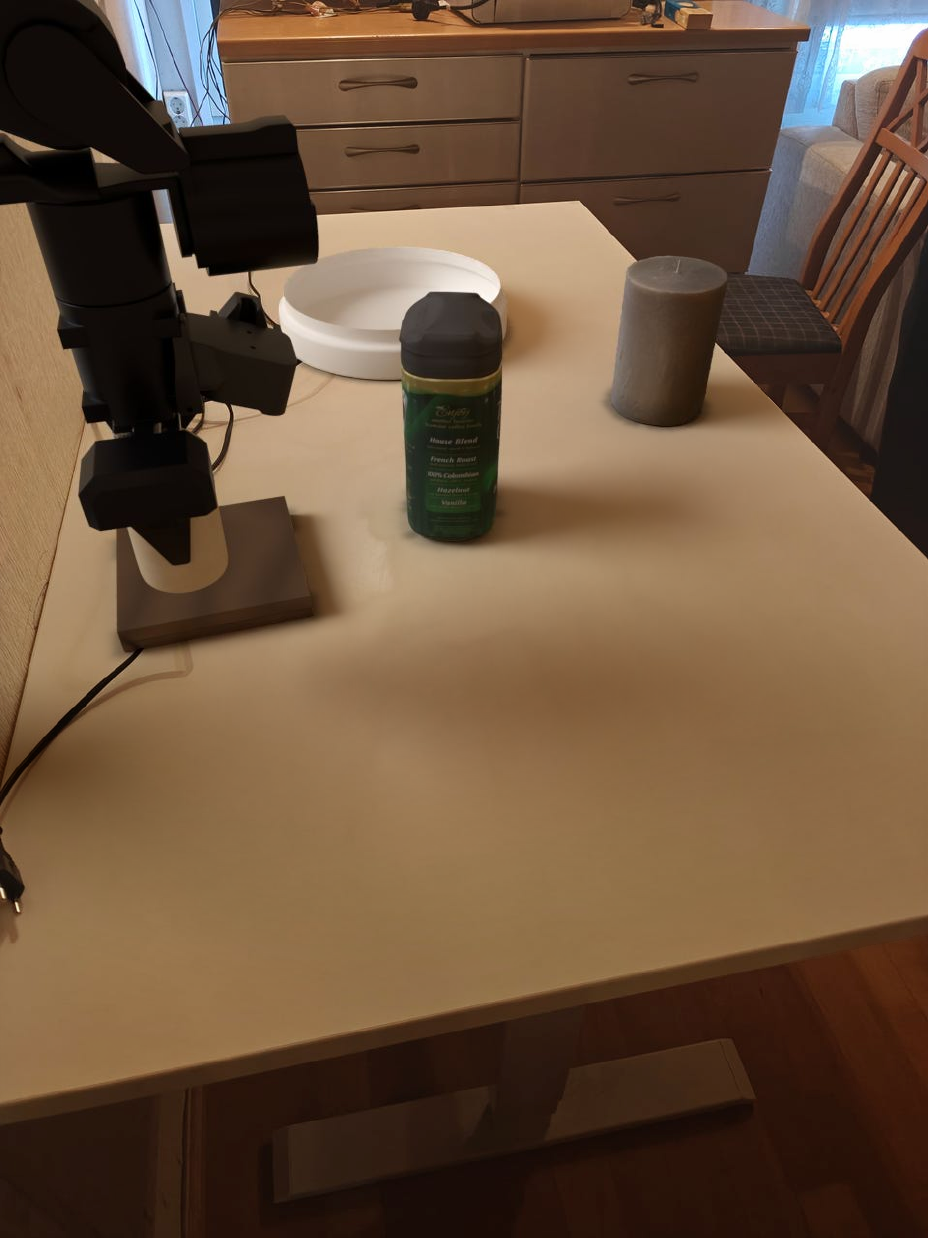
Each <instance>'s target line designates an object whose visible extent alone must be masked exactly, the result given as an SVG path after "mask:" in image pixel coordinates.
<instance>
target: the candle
mask: <svg viewBox="0 0 928 1238" xmlns="http://www.w3.org/2000/svg"><path fill="white" fill-rule="evenodd" d="M181 430H186V431H188V432H190V433H191V434H193V435H195V436H196V437H198V438H200V439H201V440H203V441H204V439H203V438H201V436H199V435H198V434H196V433H194V432H193V431H191V430H188V429H187V428H186V429H184V428H181ZM159 433H161V423H159ZM217 496H218V495H216V498H217V499H218V497H217ZM219 506H220V505H219V501H218V500H217V507H218V508H217V509H215V510H214V511H213V512H211V513H210V514H208V515H207V516H201V517H194V518H191V562H190V563H188V564H184V565H178V566H173V565H171V564H170V563H169V562H168V561H167V560H166V559H165V558H164V557H163V556H162V555H160V554H159V553H158V552H157V551H156V550H155V549H154V548H153V547H152V546H151V545H150V544H149V543H148V542H147V541H145V540H144V539H143V538H142V537H141V536H140V535H139V534H138V533H137V532H136V531H135V530H133V529H132V528H131V527H127V529H128V532H129V535H130V539H131V542H132V546H133V549H134V552H135V556H136V559H137V562H138V566H139V569H140V572H141V574H142V576H143V578H144V580H145V581H146V582H147V583H148V584H149V585H150V586H151V587H153V588H155V589H157V590H160V591H163V592H169V593H186V592H192V591H196V590H199V589H202V588H205V587H207V586H209V585H211V584H212V583H214V582H215V581H216V580H218V579H219V578H220V577H221V576H222V575H223V573H224V572H225V570H226V568H227V565H228V553H227V547H226V541H225V536H224V531H223V526H222V521H221V516H220V511H219Z"/></svg>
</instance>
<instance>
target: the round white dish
mask: <svg viewBox="0 0 928 1238" xmlns="http://www.w3.org/2000/svg"><path fill="white" fill-rule="evenodd" d="M282 290H283V292H282V293H283V296H282V297H281V299H280V300H279V304H278V318H279V326H281V330H282V332H283V333H285V334H286V335H288V336H289V337H290V339H291V342H292V345H293V348H294V352H295V355H296V358H297V360H299V361H300V362H302V363H304V364H306V365H308V366H310V367H312V368H314V369H317V370H321V371H322V372H326V373H329V374H333V375H337V376H342V377H348V378H353V379H362V380H363V379H364V380H373V381H374V380H375V381H400V380H401V381H402V374H401V342H400V341H399V337H400V332H401V326H402V321H403V320H404V317H405V314H406V312H407V310H408V309H409V308H410V307H411V306H412V305H413V304H414V303H416V302H417V301H418V300H420V299H421V298H423V297H425V296H426V295H427V294H428V293H429V292H470V293H478V294H479V295H480V297H481V298H483V299H484V300H486V301H487V302H488V303H490V304H491V305H492V306H493V307H494V308H495V309H496V310H497V311H498V313H499V315H500V320H501V325H502V337H503V341H504V339H505V336H506V335H507V334H506V333H507V326H508V325H507V324H508V323H507V321H508V301H507V296H506V295H505V294H506V293H504V291H503V290H502V288H501V280H500V278H499V276H498V275H497V273H495V271H494V270H493V269H492V268H491V267H489V266H488V265H486V264H485V263H483V262H481V261H479V260H477V259H475V258H472V257H469V256H467V255H463V254H460V253H457V252H452V251H448V250H443V249H436V248H429V247H420V246H419V247H417V246H379V247H368V248H359V249H354V250H348V251H343V252H338V253H335V254H331V255H327V256H323V257H322V258H318V261H317V263H316V264H311V265H303V266H300V267H299V268H298V269H296V271H294V272H293V273H292V274H291V275H290V276H289V277H288V278H287V280H286V281H285V283H284V285H283V289H282Z"/></svg>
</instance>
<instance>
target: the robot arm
mask: <svg viewBox="0 0 928 1238" xmlns="http://www.w3.org/2000/svg"><path fill="white" fill-rule="evenodd" d="M0 131H1V132H0V206H9V205H19V204H25V205H26V208H27V212H28V215H29V218H30V222H31V225H32V228H33V231H34V234H35V237H36V240H37V244H38V247H39V250H40V253H41V256H42V259H43V263H44V266H45V269H46V272H47V276H48V279H49V282H50V285H51V288H52V292H53V295H54V298H55V302H56V306H57V308H58V312H59V315H58V322H57V327H56V331H57V336H58V338H59V342H60V344H61V348H62V350H71V353H72V356H73V359H74V362H75V366H76V369H77V373H78V375H79V379H80V382H81V385H82V388H83V389H82V396H81V397H82V398H81V406H80V407H81V410H82V413H83V416H84V419H85V423H86V424H87V425H89V424H96V423H104V422H105V423H106V425H107V427H109V429H110V430H111V433H112V436H113V438H109V439H102V440H95V441H94V442H93V444H92V445H91V446H90V448H89V449H88V451H87V452H86V453H85V454H84V456H82V458H81V459H80V469H79V481H78V492H77V497H78V499H79V502H80V506H81V508H82V511H83V514H84V517H85V519H86V522H87V526H88V528H91V529H93V530H96V531H98V532H106V531H115V530H116V529H121V528H127V527H131V528H132V529H133V530H135V531H136V532H137V533H138V534H139V535H140V536H141V537H142V538H143V539H144V540H145V541H147V542H148V543H149V544H150V545H151V546H152V547H153V548H154V549H155V550H156V551H157V552H158V553H159V554H160V555H162V556H163V557H164V558H165V559H166V560H167V561H168V562H169V563H170V564H171V565H173V566H178V565H184V564H188V563H190V562H191V518H194V517H201V516H207V515H208V514H210V513H211V512H213V511H214V510H215V509H217V508H218V507H217V501H218V497H217V498H216V496H217V492H216V482H215V477H214V470H213V466H212V460H211V456H210V451H209V448H208V443H207V442H206V441H204V439H203V440H201V439H200V438H201V437H200V438H198V437H196V436H195V435H193V434H191V433H190V432H188V431H189V430H188V431H186V430H187V428H188V427H189V426H190V424H191V423H192V422H193V420H194V419H195V417H196V416H197V415H202V414H205V407H204V405H205V399H206V400H209V401H211V402H214V403H219V404H224V405H229V406H235V407H240V408H244V409H250V410H256V411H259V412H260V413H261V414H262V415H264V416H269V417H281V416H282V415H283V416H284V415H285V414H286V411H287V408H288V407H287V406H288V403H289V398H290V394H291V390H292V386H293V382H294V377H295V373H296V370H297V367H298V366H297V365H298V358H297V357H296V355H295V352H294V348H293V345H292V342H291V339H290V337H289V336H288V335H286V334H285V333H283V332H282V330H281V325H278V324H273V327H269V326H268V322H267V317H266V314H265V311H264V308H263V304H262V300H261V298H260V297H259V296H256V295H252V294H249V293H244V292H240V291H234V293H233V294H232V295H231V296H230V297H229V298H228V300H227V301H226V302H225V303H224V304H223V305H222V307H221V308H220V309H219V310H218V311H217V310H213V309H209V315H207V314H206V315H205V314H199V313H194V312H189V311H188V310H187V306H186V300H185V297H184V296H185V295H184V292H183V289H177V285H176V282H175V281H174V282H173V278H172V274H171V273H172V272H171V270H170V265H169V260H168V255H167V251H166V247H165V242H164V237H163V233H162V229H161V224H160V220H159V219H160V218H159V215H158V210H157V206H156V201H155V197H154V191H165V192H166V196H167V200H168V206H169V211H170V215H171V219H172V224H173V229H174V233H175V237H176V241H177V245H178V250H179V253H180V257H181V258H182V259H186V258H187V259H188V258H193V256H194V258H195V262H196V266H197V269H198V270H200V269H205V272H206V275H207V276H208V277H210V278H211V277H217V276H218V277H219V276H225V275H235V274H244V273H253V272H260V271H268V270H277V269H285V268H292V267H303V266H305V265H311V264H316V263H317V261H318V259H319V254H320V236H319V224H318V223H319V222H318V214H317V208H316V207H317V206H316V204H315V203H314V201H313V200H312V199H311V195H310V189H309V184H308V180H307V175H306V171H305V167H304V163H303V160H302V157H301V153H300V150H299V141H298V134H297V127H296V126H295V125H294V124H293V122H292V121H291V120H290V119H289V118H288V117H287V116H286V115H285V114H279V115H265V116H260V117H257V118H254V119H252V120H249V121H245V122H235V123H234V122H233V123H221V124H209V125H197V126H195V125H194V126H184V127H182V126H181V127H177V126H176V124H175V121H174V119H173V117H172V116H171V114H170V113H169V112H168V110H167V108H166V106H165V103H164V101H163V100H162V99H158V100H157V99H155V97H154V96H153V95H152V94H151V93H150V92H149V91H148V90H147V88H146V87H145V86H144V85H142V83H141V82H140V81H139V80H138V79H137V78H136V76H135V75H133V74H132V73H131V71H130V70H129V69H128V68H127V64H126V62H125V59H124V55H123V52H122V49H121V47H120V44H119V41H118V39H117V36H116V33H115V31H114V29H113V25H112V24H111V20H110V19H109V18H108V17H107V15H106V14H105V12H104V11H103V10H102V8H101V7H100V6H99V4H98V3H97V2H96V0H0ZM6 133H7V134H6ZM8 134H9V135H12V136H15V137H17V138H20V139H23V140H25V141H28V142H31V143H33V144H36V145H39V146H42V147H45V148H48V150H47V149H45V150H34V151H32V150H29V149H27V148H25V147H24V146H21V145H20V144H18V143H17V142H16V141H15V140H14V139H12V138H11V137H10V136H9V135H8ZM92 149H93V150H95V151H96V152H99V154H103V155H104V156H106V157H108V158H110V159H112V160H114V161H116V162H96V159H95V157H94V153H93V151H92ZM159 423H161V433H159ZM181 428H184V429H186V430H181Z"/></svg>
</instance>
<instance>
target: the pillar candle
mask: <svg viewBox="0 0 928 1238" xmlns="http://www.w3.org/2000/svg"><path fill="white" fill-rule="evenodd" d="M728 278H729V276H728V273H727V272H726V270H725V269H724V268H722V267H720V266H719V265H717V264H715V263H712V262H710V261H708V260H704V259H700V258H695V257H688V256H677V255H676V256H675V255H663V256H662V255H660V256H657V255H656V256H653V257H652V256H651V257H648V258H644V259H639V260H638V261H634V262H633V263H631V264H630V265H629V266H627V268H626V270H625V280H624V287H623V295H622V303H621V314H620V318H619V320H620V322H619V327H618V337H617V343H616V344H617V346H616V353H615V358H614V359H615V361H614V369H613V370H614V371H613V377H612V384H611V385H612V386H611V393H610V402H611V406H612V408H613V409H614V410H615V411H616V412H617V413H618V414H619V415H621V416H622V417H624V418H627V419H629V420H631V421H634V422H636V423H641V424H647V425H654V426H659V427H671V426H672V427H673V426H674V427H675V426H681V425H683V424H684V425H685V424H687V423H690V422H692V421H694V420H695V419H697V418H698V417H700V416H701V414H703V408H704V407H703V406H704V401H705V398H706V394H707V389H708V382H709V379H710V378H709V377H710V373H711V369H712V363H713V358H714V352H715V349H716V348H715V347H716V344H717V343H716V342H717V338H718V337H717V336H718V332H719V329H720V328H719V327H720V322H721V316H722V312H723V308H724V302H725V297H726V293H727V292H726V291H727V287H728V281H729V279H728Z"/></svg>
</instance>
